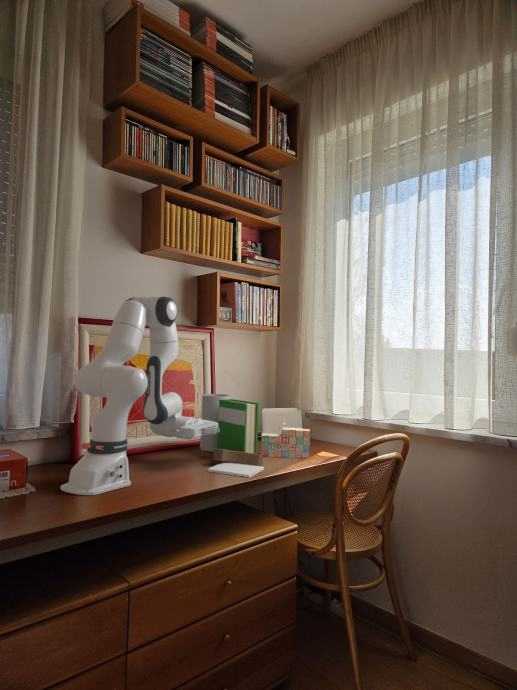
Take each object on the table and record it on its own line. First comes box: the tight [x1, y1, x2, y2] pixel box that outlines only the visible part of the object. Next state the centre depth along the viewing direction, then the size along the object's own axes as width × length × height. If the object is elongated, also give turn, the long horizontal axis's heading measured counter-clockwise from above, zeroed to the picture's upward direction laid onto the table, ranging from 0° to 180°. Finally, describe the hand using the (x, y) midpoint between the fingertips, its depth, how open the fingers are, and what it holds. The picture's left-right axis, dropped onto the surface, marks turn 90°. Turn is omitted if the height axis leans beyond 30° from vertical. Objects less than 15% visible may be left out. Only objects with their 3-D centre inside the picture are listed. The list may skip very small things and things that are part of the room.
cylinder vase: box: [199, 393, 230, 453], centre depth 211 cm, size 12×12×25 cm
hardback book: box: [218, 398, 260, 454], centre depth 197 cm, size 18×7×24 cm, turn 42°
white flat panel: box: [207, 461, 265, 478], centre depth 174 cm, size 14×17×1 cm
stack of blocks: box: [260, 426, 311, 459], centre depth 203 cm, size 21×6×12 cm, turn 87°
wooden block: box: [211, 448, 264, 466], centre depth 182 cm, size 9×4×18 cm
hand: (217, 431), depth 178 cm, fingers closed
